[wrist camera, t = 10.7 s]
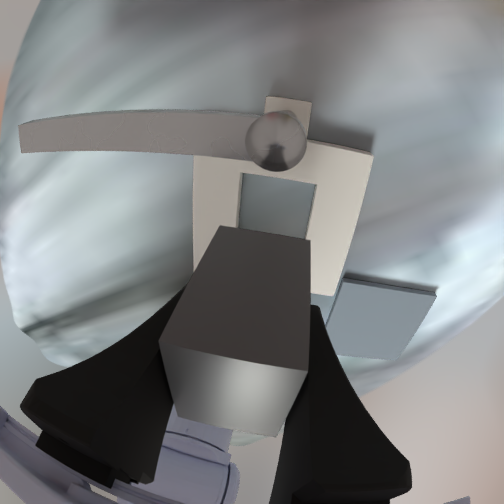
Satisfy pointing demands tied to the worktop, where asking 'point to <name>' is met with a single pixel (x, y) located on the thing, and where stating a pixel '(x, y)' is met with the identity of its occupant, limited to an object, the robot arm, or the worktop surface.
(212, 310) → the plug
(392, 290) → the pad
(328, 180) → the socket plate
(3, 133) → the worktop surface
